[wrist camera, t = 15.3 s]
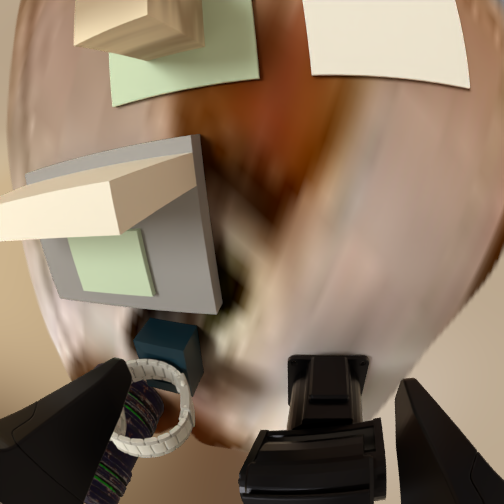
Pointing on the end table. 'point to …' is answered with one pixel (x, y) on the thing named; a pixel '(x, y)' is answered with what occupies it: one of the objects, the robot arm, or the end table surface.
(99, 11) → the block
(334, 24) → the cream mat
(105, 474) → the storage jar
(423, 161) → the end table surface
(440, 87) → the end table surface
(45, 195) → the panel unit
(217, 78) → the sage mat
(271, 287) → the end table surface
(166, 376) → the watch
